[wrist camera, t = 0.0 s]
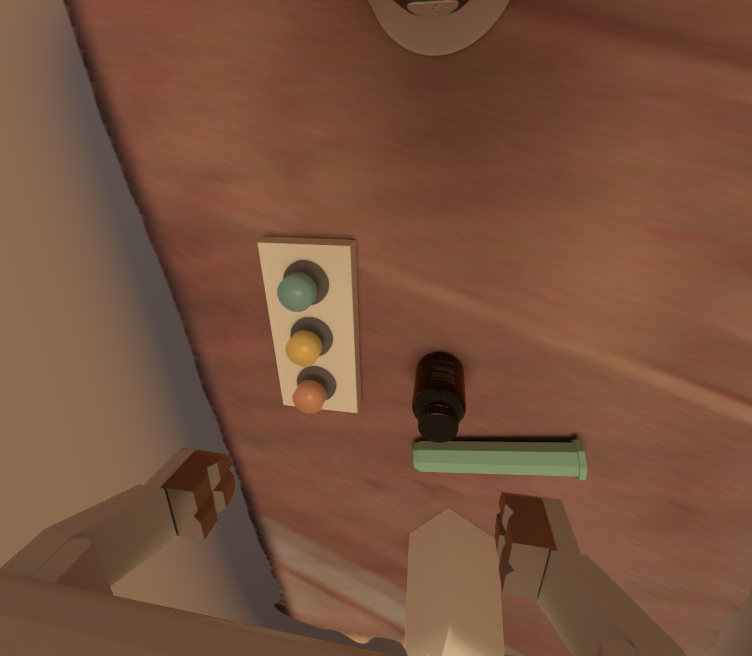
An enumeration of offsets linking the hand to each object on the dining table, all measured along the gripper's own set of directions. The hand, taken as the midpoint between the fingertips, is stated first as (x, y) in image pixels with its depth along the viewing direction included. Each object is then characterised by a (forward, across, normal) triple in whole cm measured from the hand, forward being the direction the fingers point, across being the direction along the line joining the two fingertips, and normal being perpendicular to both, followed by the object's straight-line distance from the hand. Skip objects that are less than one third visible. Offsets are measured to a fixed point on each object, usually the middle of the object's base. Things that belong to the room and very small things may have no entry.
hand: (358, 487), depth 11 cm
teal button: (+34, +15, +5) cm, 37 cm away
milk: (+45, -8, +56) cm, 72 cm away
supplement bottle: (+41, -3, +18) cm, 45 cm away
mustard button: (+35, +15, +12) cm, 40 cm away
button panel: (+40, +15, +12) cm, 45 cm away
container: (+43, -12, +31) cm, 54 cm away
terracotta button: (+36, +15, +20) cm, 44 cm away
